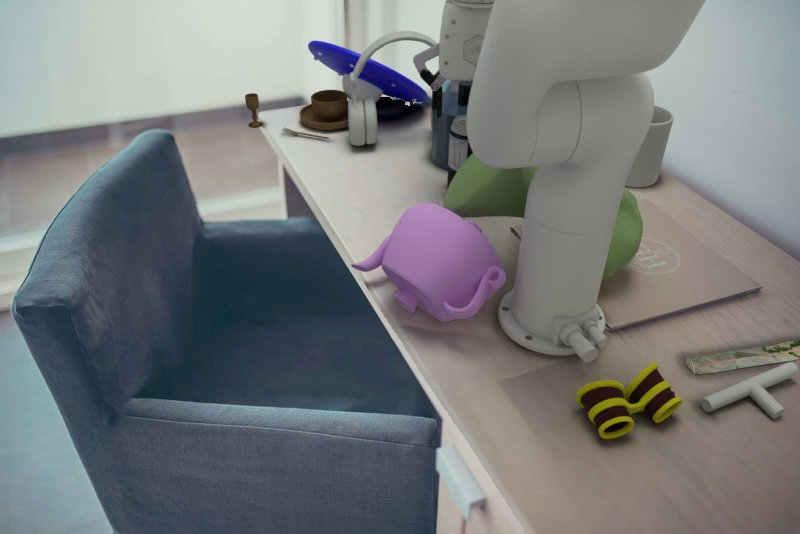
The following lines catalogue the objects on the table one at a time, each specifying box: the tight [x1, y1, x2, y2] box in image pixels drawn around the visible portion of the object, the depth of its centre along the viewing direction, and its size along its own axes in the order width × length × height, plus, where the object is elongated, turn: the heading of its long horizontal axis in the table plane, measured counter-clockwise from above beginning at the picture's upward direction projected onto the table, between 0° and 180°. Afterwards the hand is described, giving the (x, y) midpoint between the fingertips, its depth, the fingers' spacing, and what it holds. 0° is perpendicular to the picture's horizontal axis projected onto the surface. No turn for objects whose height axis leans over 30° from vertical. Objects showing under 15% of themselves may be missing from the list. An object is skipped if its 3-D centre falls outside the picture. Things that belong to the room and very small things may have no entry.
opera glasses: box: [574, 362, 683, 440], centre depth 65 cm, size 10×5×5 cm, turn 111°
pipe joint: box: [699, 361, 800, 420], centre depth 67 cm, size 12×2×4 cm
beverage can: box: [446, 115, 473, 189], centre depth 100 cm, size 6×6×12 cm
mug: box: [625, 104, 674, 188], centre depth 104 cm, size 12×8×11 cm
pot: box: [430, 110, 454, 171], centre depth 110 cm, size 10×10×10 cm
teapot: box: [350, 202, 507, 322], centre depth 77 cm, size 20×13×12 cm
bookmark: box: [684, 339, 800, 375], centre depth 73 cm, size 3×21×1 cm, turn 101°
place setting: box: [244, 89, 349, 140], centre depth 125 cm, size 18×20×6 cm
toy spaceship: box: [307, 40, 429, 104], centre depth 125 cm, size 25×25×7 cm
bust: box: [442, 153, 644, 280], centre depth 81 cm, size 14×15×25 cm
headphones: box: [348, 30, 461, 147], centre depth 112 cm, size 20×8×19 cm, turn 97°
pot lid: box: [430, 80, 473, 119], centre depth 106 cm, size 11×11×5 cm
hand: (471, 114), depth 95 cm, fingers open, 9 cm apart
